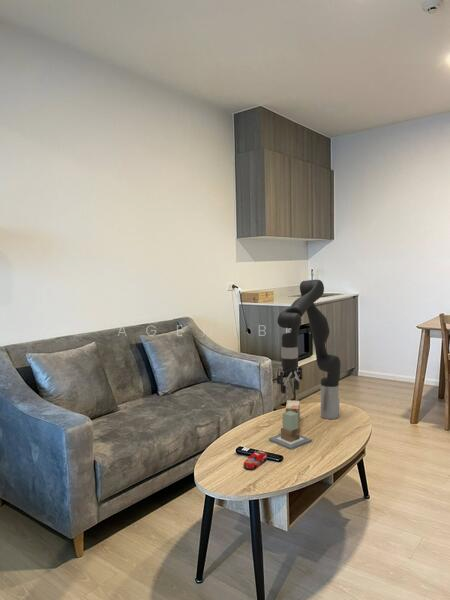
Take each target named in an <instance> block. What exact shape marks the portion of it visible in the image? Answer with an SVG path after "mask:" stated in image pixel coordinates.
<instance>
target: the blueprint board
mask: <svg viewBox="0 0 450 600" xmlns="http://www.w3.org/2000/svg"><path fill="white" fill-rule="evenodd" d="M268 441H270V442H272V443H273V444H276V445H278V446H281V447H283V448H286V449H288V450H290V451H293V450H294V449H297V448H299V447H303V446H304V445H307V444H310V443H312V442H313V439H312V438H309V437H306V436H303V435H301V434H300V427H299V428H298V429H295V430H292V431H289V430H287V429H284V428H283V426H282V427H280V434H277V435H273V436H271V437H269V438H268Z"/></svg>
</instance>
